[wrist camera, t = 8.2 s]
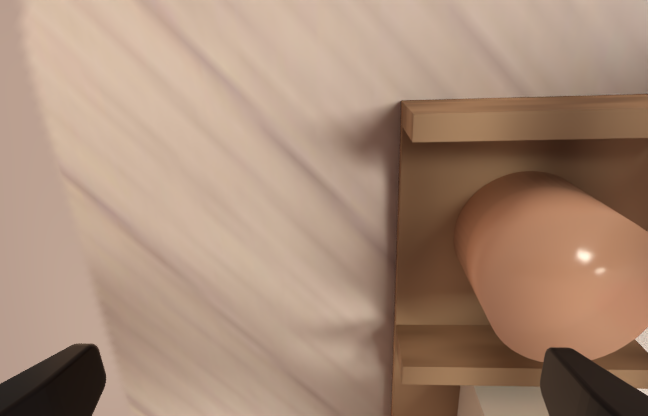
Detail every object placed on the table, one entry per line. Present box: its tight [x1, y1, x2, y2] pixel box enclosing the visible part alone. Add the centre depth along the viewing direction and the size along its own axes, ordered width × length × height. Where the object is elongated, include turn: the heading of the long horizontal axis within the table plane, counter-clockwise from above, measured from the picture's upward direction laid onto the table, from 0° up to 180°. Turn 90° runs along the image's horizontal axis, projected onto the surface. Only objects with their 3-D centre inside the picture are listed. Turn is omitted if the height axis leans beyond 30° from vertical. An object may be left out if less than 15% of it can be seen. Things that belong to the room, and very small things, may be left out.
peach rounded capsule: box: [454, 171, 648, 362], centre depth 17 cm, size 6×6×5 cm
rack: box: [391, 94, 648, 416], centre depth 20 cm, size 11×23×4 cm, turn 2°
